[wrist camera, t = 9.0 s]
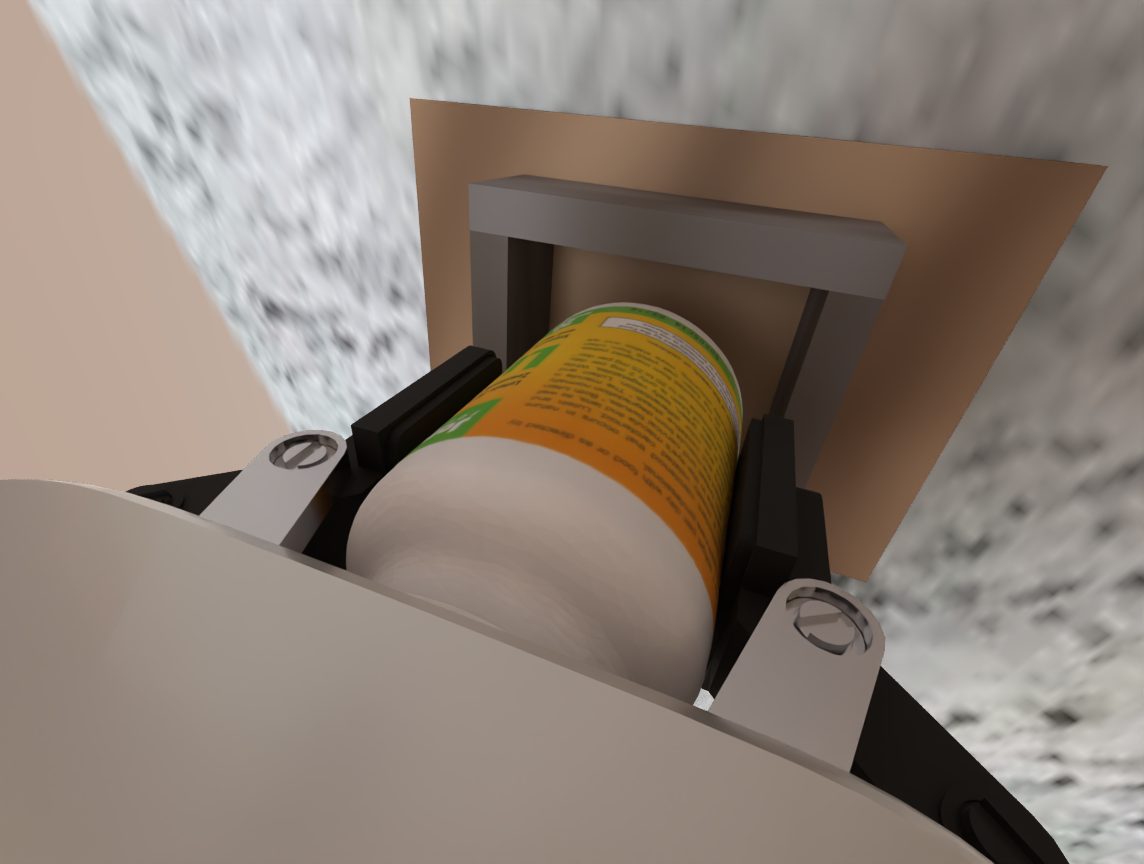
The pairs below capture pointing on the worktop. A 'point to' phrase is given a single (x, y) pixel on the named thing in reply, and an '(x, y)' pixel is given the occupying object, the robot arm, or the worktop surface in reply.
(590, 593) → the supplement bottle
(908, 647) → the worktop surface
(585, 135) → the collar board
